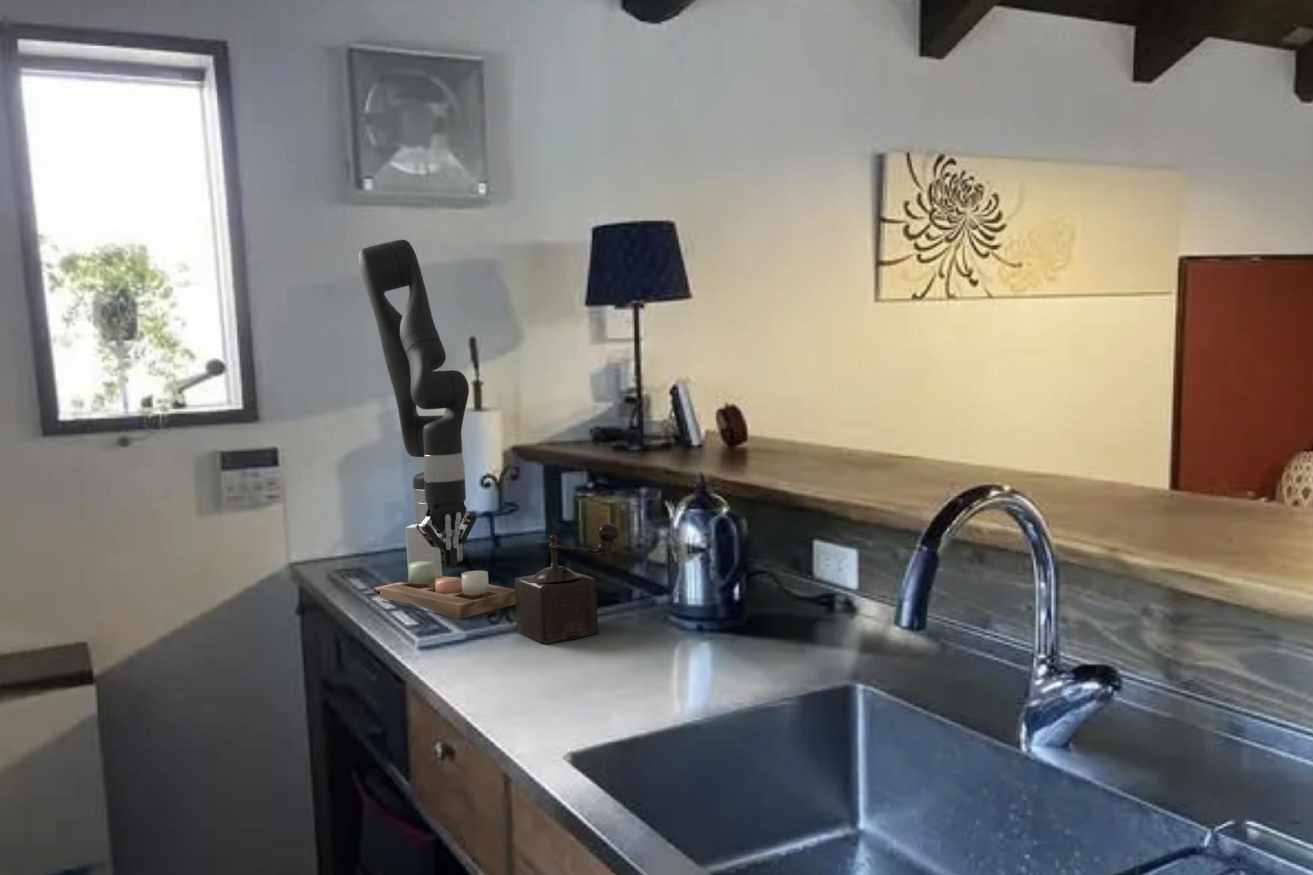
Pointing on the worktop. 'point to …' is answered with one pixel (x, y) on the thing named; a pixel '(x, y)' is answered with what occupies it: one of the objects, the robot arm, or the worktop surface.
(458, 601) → the button board
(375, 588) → the tile
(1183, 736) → the worktop surface
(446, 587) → the peach rounded piece
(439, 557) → the skincare box
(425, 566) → the button sage
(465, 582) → the button cream
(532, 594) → the coffee grinder
